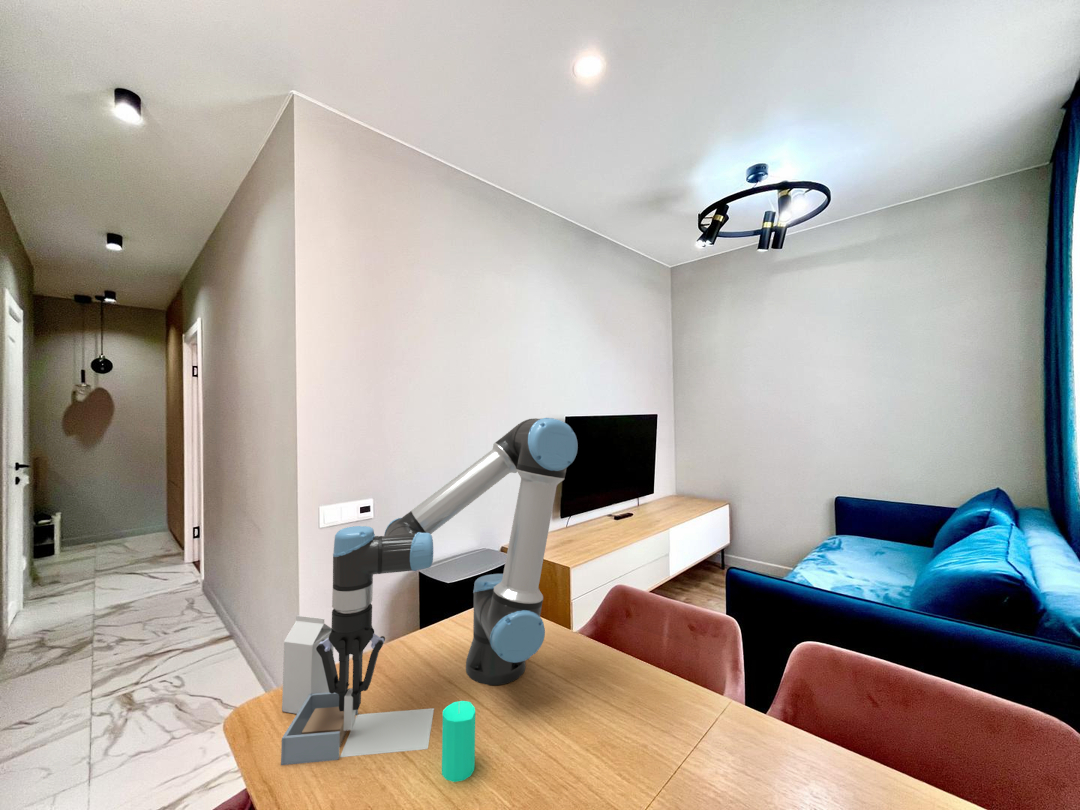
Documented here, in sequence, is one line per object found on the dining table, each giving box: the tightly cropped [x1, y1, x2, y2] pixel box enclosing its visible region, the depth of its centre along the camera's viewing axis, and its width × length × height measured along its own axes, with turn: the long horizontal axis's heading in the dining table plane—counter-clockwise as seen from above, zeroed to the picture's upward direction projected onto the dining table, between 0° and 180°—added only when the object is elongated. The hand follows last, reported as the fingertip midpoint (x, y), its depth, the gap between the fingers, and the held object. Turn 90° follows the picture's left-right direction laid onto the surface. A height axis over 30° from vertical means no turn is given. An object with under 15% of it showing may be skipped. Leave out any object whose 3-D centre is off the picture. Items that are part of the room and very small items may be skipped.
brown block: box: [302, 707, 348, 747], centre depth 87 cm, size 7×7×4 cm
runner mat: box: [339, 707, 435, 758], centre depth 88 cm, size 16×12×1 cm
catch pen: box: [280, 692, 359, 766], centre depth 87 cm, size 10×13×5 cm
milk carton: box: [281, 615, 335, 715], centre depth 97 cm, size 7×7×19 cm
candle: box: [441, 700, 476, 783], centre depth 79 cm, size 6×6×12 cm
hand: (349, 725), depth 87 cm, fingers closed
